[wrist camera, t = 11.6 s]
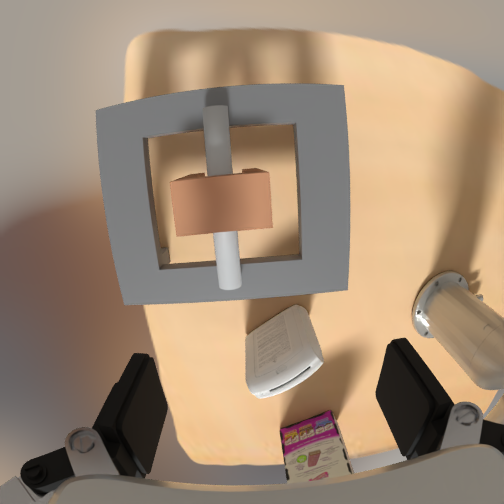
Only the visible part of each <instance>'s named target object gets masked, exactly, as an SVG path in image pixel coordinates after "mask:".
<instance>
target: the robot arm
mask: <svg viewBox="0 0 504 504" xmlns="http://www.w3.org/2000/svg"><path fill="white" fill-rule="evenodd" d="M482 301H483V295H482V294H479V295H476V296H475V295H474V294H473V293H471V292H470V291H469V288H468V283H467V281H466V279H465V278H464V277H463V276H462V275H460V274H459V273H457V272H454V271H446V272H443V273H440V274H438V275H437V276H435V277H433V278H432V279H431V280H430V281H429V282H428V283H427V284H426V285H425V286H424V287H423V289H422V290H421V292H420V293H419V295H418V297H417V299H416V301H415V304H414V307H413V311H412V323H413V326H414V328H415V330H416V331H417V332H418V333H419V334H420V335H421V336H423V337H425V338H436V340H437V341H438V342H439V343H440V344H441V345H442V346H443V347H444V348H445V350H446V351H447V352H448V353H449V354H450V355H451V356H452V357H453V359H454V360H455V361H456V362H457V363H458V364H459V365H460V367H461V368H462V369H463V370H464V371H465V372H466V374H467V375H468V376H469V377H470V378H471V380H472V381H473V382H474V383H475V384H476V385H477V386H478V387H480V388H482V389H486V390H499V389H504V318H503V317H502V316H500V315H499V314H498V313H497V312H495V311H494V310H493V309H491V308H490V307H489V306H487V305H486V304H485V303H484V302H482ZM376 399H377V401H378V403H379V405H380V407H381V409H382V412H383V414H384V416H385V418H386V420H387V423H388V425H389V427H390V429H391V432H392V434H393V436H394V438H395V441H396V443H397V445H398V447H399V449H400V452H401V454H402V456H406V458H407V460H406V461H403V462H399V463H396V464H392V465H389V466H385V467H381V468H377V469H373V470H369V471H364V472H360V473H355V474H350V475H345V476H339V477H334V478H327V479H321V480H314V481H306V482H297V483H286V484H272V485H247V486H227V485H226V486H225V485H201V484H188V483H177V482H167V481H159V480H152V479H145V476H146V474H149V473H150V472H151V468H152V464H153V461H154V457H155V453H156V449H157V446H158V442H159V439H160V435H161V431H162V428H163V424H164V421H165V417H166V414H167V409H168V406H167V401H166V398H165V395H164V392H163V389H162V386H161V383H160V379H159V376H158V373H157V369H156V366H155V362H154V359H153V358H152V357H149V355H148V354H143V353H142V354H141V353H134V354H133V355H132V357H131V359H130V361H129V363H128V365H127V366H126V368H125V370H124V372H123V374H122V376H121V378H120V380H119V382H117V383H115V385H114V386H113V388H112V390H111V392H110V394H109V395H108V397H107V399H106V401H105V403H104V405H103V407H102V409H101V411H100V413H99V415H98V417H97V419H96V421H95V423H94V425H93V427H92V428H89V427H81V428H76V429H74V430H72V431H71V432H70V433H69V434H68V435H67V437H66V439H65V447H63V448H61V449H58V450H56V451H53V452H51V453H48V454H45V455H42V456H40V457H37V458H34V459H31V460H29V461H27V462H26V463H25V464H24V465H23V467H22V469H21V473H20V474H21V476H20V477H19V478H17V477H16V476H15V477H13V478H12V479H10V480H9V481H7V482H6V483H5V484H3V485H2V486H0V504H504V394H503V396H502V397H501V398H500V400H499V401H498V403H497V405H495V407H494V408H493V409H492V410H491V412H490V413H489V414H488V415H487V416H486V417H485V419H483V413H482V411H481V409H480V408H479V407H478V406H477V405H475V404H473V403H471V402H460V403H457V404H456V405H454V403H453V402H452V400H451V398H450V397H449V395H448V394H447V393H446V391H445V390H444V388H443V387H442V386H441V384H440V383H439V381H438V380H437V379H436V377H435V376H434V375H433V373H432V372H431V370H430V369H429V368H428V366H427V365H426V364H425V362H424V361H423V360H422V358H421V357H420V356H419V354H418V353H417V352H416V350H415V349H414V348H413V346H412V345H411V344H410V343H409V341H408V340H407V339H406V338H400V339H394V340H392V341H391V343H390V344H388V345H387V348H386V353H385V357H384V361H383V365H382V369H381V373H380V377H379V381H378V385H377V388H376Z"/></svg>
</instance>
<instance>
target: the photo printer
mask: <svg viewBox="0 0 504 504" xmlns="http://www.w3.org/2000/svg"><path fill="white" fill-rule="evenodd" d="M245 349H246V350H245V352H246V383H247V386H248V388H249V390H250V392H251V393H252V394H254V395H255V396H256V397H257V398H266V397H270V396H274V395H277V394H279V393H282V392H284V391H286V390H288V389H290V388H292V387H294V386H296V385H298V384H299V383H301V382H302V381H304V380H305V379H307V378H308V377H309V376H311V375H312V374H313V373H314V372H315V371H317V370H318V369H319V368H320V366H321V365H322V364H323V363H324V358H323V356H322V351H321V348H320V345H319V342H318V339H317V337H316V334H315V331H314V328H313V325H312V323H311V320H310V317H309V315H308V312H307V310H306V309H305V308H304V307H302V306H299V305H297V304H296V305H293V306H291V307H289V308H288V309H286V310H284V311H283V312H281V313H279V314H278V315H276V316H275V317H273V318H272V319H270V320H269V321H267V322H266V323H264V324H262V325H261V326H259V327H258V328H256V329H255V330H254V331H252V332H251V333H250V334H248V335H247V336H246V339H245Z"/></svg>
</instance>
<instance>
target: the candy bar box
mask: <svg viewBox="0 0 504 504" xmlns="http://www.w3.org/2000/svg"><path fill="white" fill-rule="evenodd" d="M280 437H281V444H282V451H283V457H284V463H285V471H286V478H287V483H297V482H306V481H314V480H321V479H327V478H334V477H339V476H345V475H350V474H354V471H353V468H352V465H351V462H350V459H349V456H348V452H347V449H346V446H345V443H344V440H343V437H342V434H341V431H340V428H339V426H338V423H337V421H336V419H335V417H334V415H333V412H332V411H331V410H330V411H327V412H325V413H322V414H320V415H317V416H315V417H312V418H310V419H307V420H305V421H302V422H299V423H297V424H294V425H291V426H288V427H285V428H283V429H280Z"/></svg>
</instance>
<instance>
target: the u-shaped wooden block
mask: <svg viewBox="0 0 504 504" xmlns="http://www.w3.org/2000/svg"><path fill="white" fill-rule="evenodd" d="M170 187H171V196H172V205H173V213H174V220H175V228H176V235H177V236H187V235H197V234H208V233H218V232H229V231H240V230H251V229H263V228H273V225H272V208H271V192H270V177H269V172H266V171H263V170H260V169H257V168H252V169H242V173H237V174H226V175H215V176H205V173H198V174H190V175H187V176H185V177H182V178H179V179H176V180H174V181H171V182H170Z"/></svg>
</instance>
